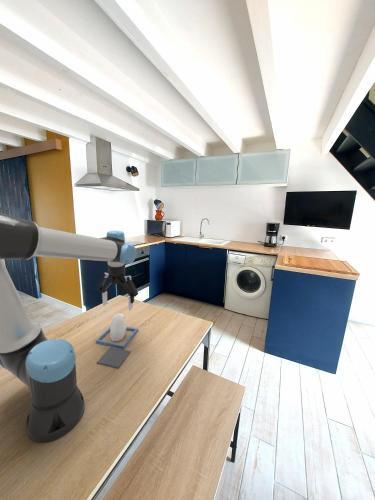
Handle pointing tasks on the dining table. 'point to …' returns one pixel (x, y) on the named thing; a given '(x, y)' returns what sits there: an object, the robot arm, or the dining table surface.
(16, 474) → the dining table surface
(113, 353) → the mat
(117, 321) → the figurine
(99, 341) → the cradle
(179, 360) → the dining table surface
